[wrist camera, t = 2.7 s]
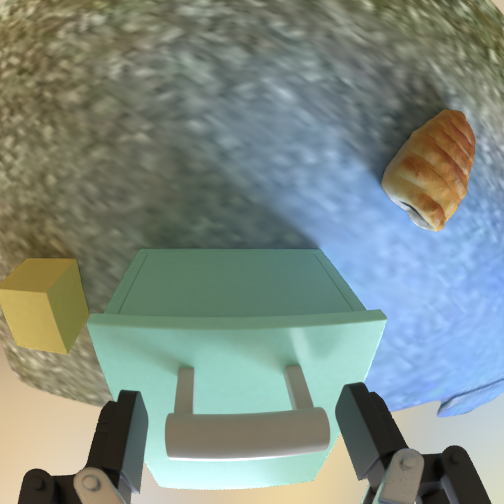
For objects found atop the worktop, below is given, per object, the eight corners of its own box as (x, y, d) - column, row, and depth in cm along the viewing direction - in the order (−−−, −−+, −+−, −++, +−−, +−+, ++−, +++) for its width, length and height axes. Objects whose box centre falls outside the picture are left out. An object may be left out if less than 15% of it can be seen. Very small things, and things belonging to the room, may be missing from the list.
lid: (91, 311, 11) (45, 400, 6) (380, 308, 12) (438, 385, 8) (159, 479, 18) (156, 529, 13) (311, 473, 19) (324, 521, 15)
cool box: (139, 248, 19) (95, 326, 11) (321, 248, 21) (376, 322, 13) (167, 403, 26) (159, 478, 18) (292, 400, 27) (311, 473, 19)
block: (27, 257, 19) (-6, 288, 14) (76, 258, 19) (46, 292, 15) (42, 310, 21) (17, 346, 16) (89, 314, 21) (67, 354, 17)
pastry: (427, 88, 16) (461, 86, 13) (473, 144, 18) (504, 151, 15) (368, 186, 19) (397, 199, 16) (422, 232, 21) (450, 251, 18)
